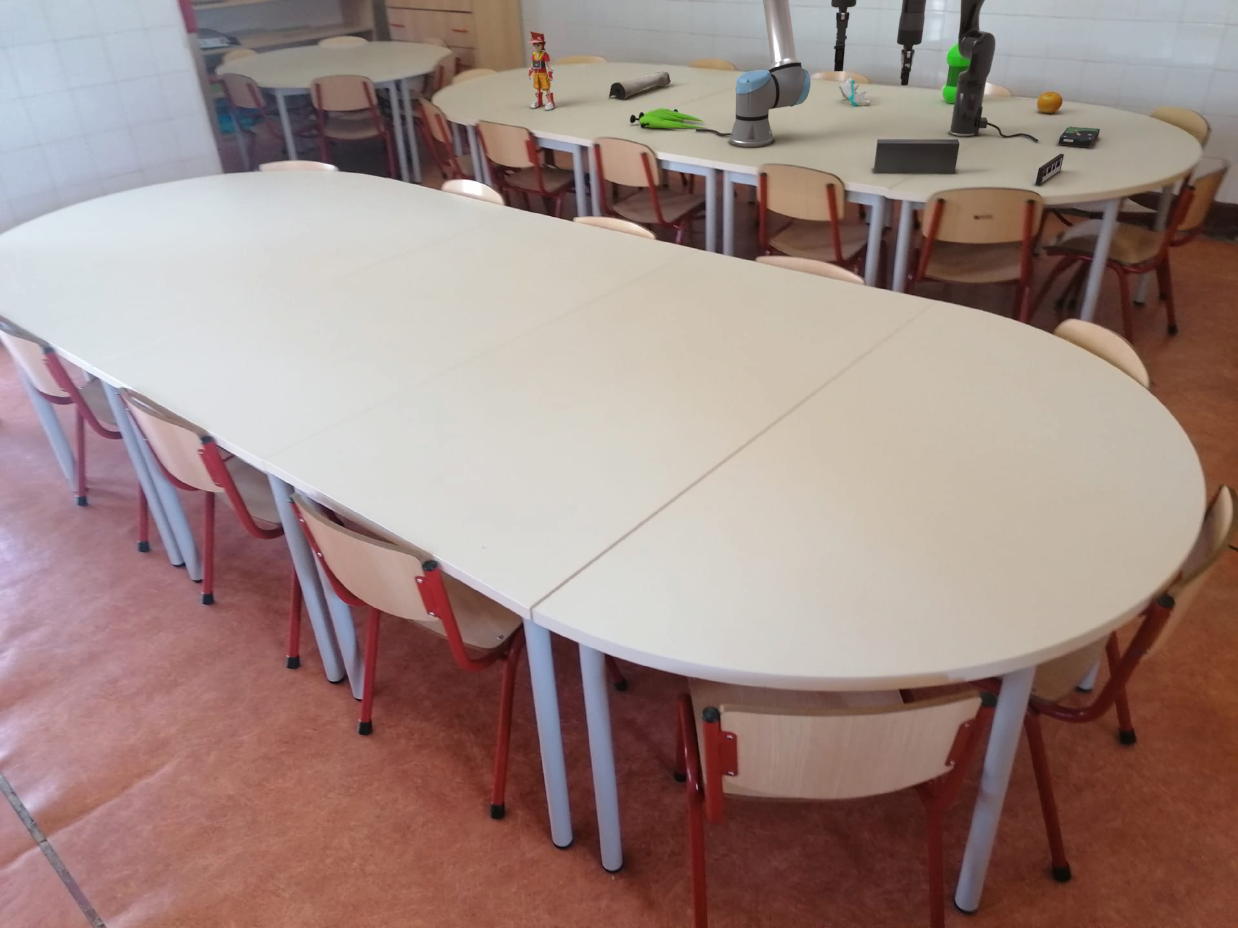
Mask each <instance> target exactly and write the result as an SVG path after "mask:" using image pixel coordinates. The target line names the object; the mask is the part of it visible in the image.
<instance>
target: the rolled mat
mask: <svg viewBox="0 0 1238 928" xmlns="http://www.w3.org/2000/svg"><path fill="white" fill-rule="evenodd" d="M671 83H672V81H671V77H670V74H669V72H668V71H658V72H654V73H649V74H645V75H640V76H637V77H633V78H628V79H623V80H620V81H616V82H613V83H612V84H611V85H610V89H609V95H608V97H609V98H611V97H616V99H620V100H622V101H623V100H626V99H627V98H629V97H630V96H632V95H635V94H636V93H638V92H640V91H643V90H644V89H647V88H650V87H655V86H658V87H659V86H661V87H665V86H669V85H670V84H671Z"/></svg>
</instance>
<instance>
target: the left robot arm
mask: <svg viewBox="0 0 1238 928" xmlns="http://www.w3.org/2000/svg"><path fill="white" fill-rule="evenodd" d="M762 2H763V10H764V18H765V25H766V32H767V39H768V47H769V56H770V61H771V65H770V66H769V68H768V69H754V70H749V71H746V72H744V73H741V74H740V75H739V76H738V77H737V79H736V85H735V120H734V123H733V126H732V130H731V132H723V133H722V132H720V131H717V130H716V129H715V130H714V129H710V128H695V132H709V133H714V134H716V135H718V136H721V137H727V136H729V143H730V144H731V145H732V146H736V147H740V148H761V147H765V146H768V145H770V144H772V143H773V138H774V135H773V130H772V128H771V125H770V121H769V115H770V114H769V112H770V110H774V109H781V108H787V107H794V106H799V105H802V104H803V103H804V102H806V100H807V98H808V96H809V94H810V91H811V76H810V73H809V71H808V70H807V69H805V68H803V66H802V62H801V61H800V60H799V59H797V55H796V46H795V40H794V32H793V24H792V16H791V10H790V9H791V8H790V1H789V0H762ZM830 5H831V7H832V8H837V9H838V12H835V15H836V16H835V20H836V27H835V28H836V35H835V36H836V37H835V39H836V40H835V45H834V46H833V50H834V66H833V67H834V68H833V72H844V64H845V63H844V62H845V53H846V40H847V39H848V35H846V34H847V29H848V26H849V20H850V12H849V11H848V8H853V7H855V6H856V5H857V0H831V1H830Z"/></svg>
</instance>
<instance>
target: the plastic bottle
mask: <svg viewBox="0 0 1238 928" xmlns="http://www.w3.org/2000/svg"><path fill="white" fill-rule="evenodd" d="M958 38H959V34H958V36H957V39H958ZM970 61H971V60H968V59H964V58H962V57H961V56H960V54H959V51H958V42H957V43H956V44H954V45H953V46H952V47H951V48H950V49H949V50H948V52H947V54H946V63H947V64H948V69H947V70H948V71H947V76H946V77H947V78H946V84H945V85H944V87H943V90H942V97H943V99H944V100H945V101H946V102H947V103H948V104H954V103H955V96H956V90H957V83H958V77H959V74H960V73H961V72H963V71H966V70H968V68H969V65H970Z"/></svg>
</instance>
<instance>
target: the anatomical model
mask: <svg viewBox="0 0 1238 928" xmlns="http://www.w3.org/2000/svg"><path fill="white" fill-rule="evenodd" d="M855 84H856V81H855V79H853V78H852V77H851V76H849V77H847V79H846V80H845V81H843V82H840V83H839V84H838V85H839V86H838V88H839V90H840V93H841V95H842V98H844V99H848V100H849V103H850V104H851V106H852V107H855V106H856V107H857V106H859V105H869V104H871V102H872V101H871V100H869V99H868V100H867V99H865V95H866V94H867V93H868V91H867V90H863V91H861V92H857V90H858V89H859V86H860V85H859V84H857V85H855ZM854 85H855V86H854Z"/></svg>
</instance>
